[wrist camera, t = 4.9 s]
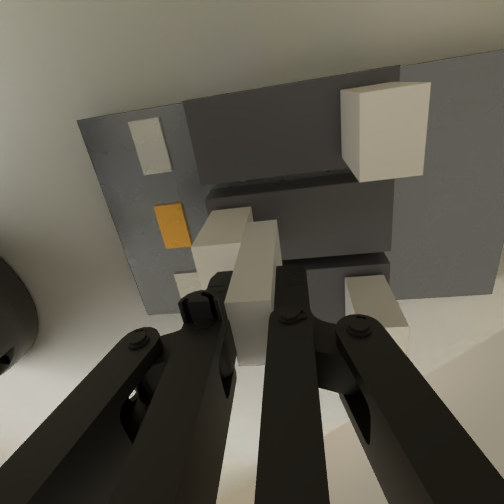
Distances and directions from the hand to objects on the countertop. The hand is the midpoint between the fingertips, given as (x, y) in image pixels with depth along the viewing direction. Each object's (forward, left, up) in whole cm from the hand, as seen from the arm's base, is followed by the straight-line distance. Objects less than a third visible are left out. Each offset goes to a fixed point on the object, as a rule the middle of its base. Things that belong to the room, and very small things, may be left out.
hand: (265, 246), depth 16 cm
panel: (+2, 0, -6) cm, 6 cm away
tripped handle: (-2, 0, -2) cm, 3 cm away
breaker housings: (+2, 0, -4) cm, 5 cm away
